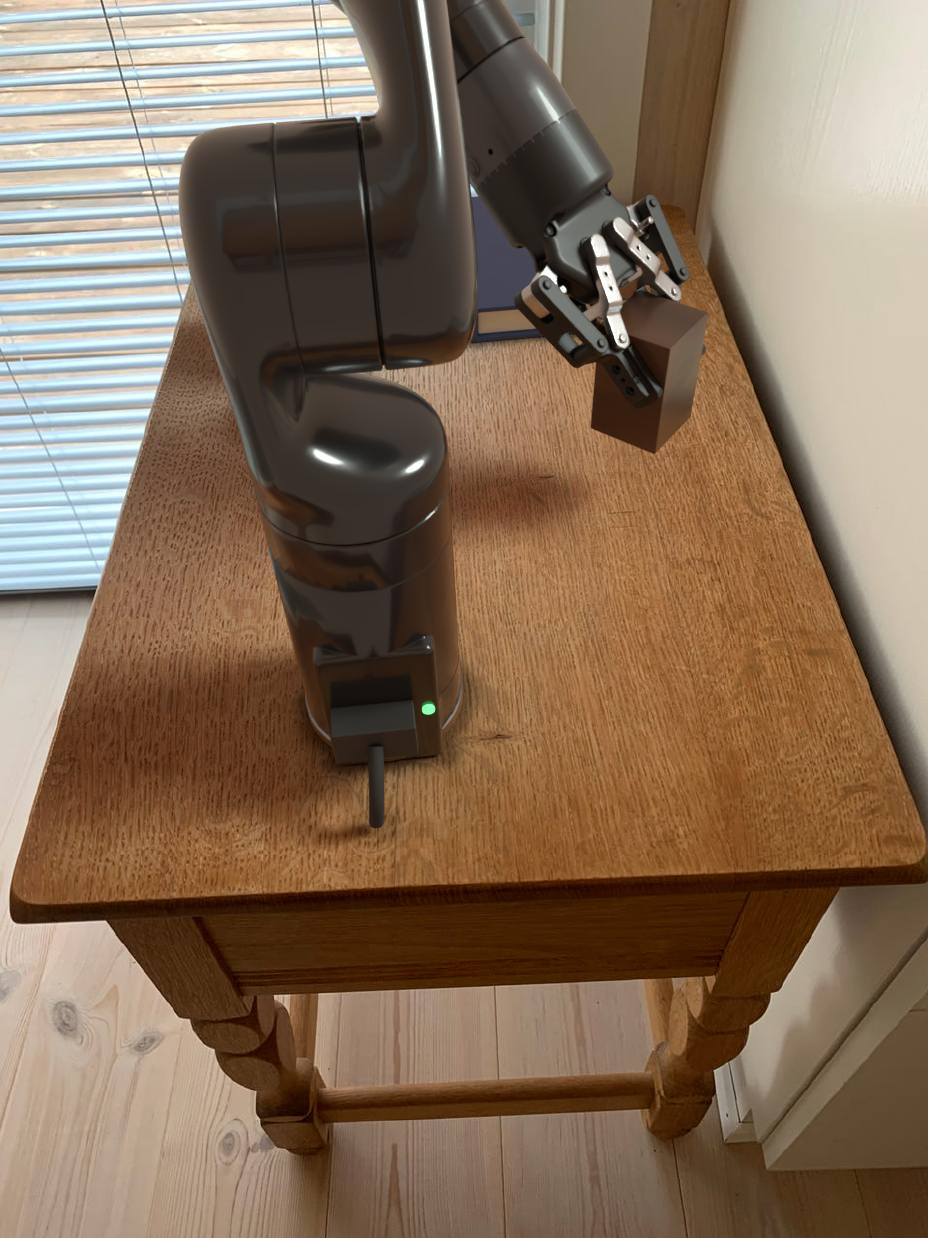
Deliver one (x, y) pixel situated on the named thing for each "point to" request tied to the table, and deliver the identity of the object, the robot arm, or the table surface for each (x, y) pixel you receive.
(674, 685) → the table surface
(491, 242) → the book
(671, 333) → the walnut block
